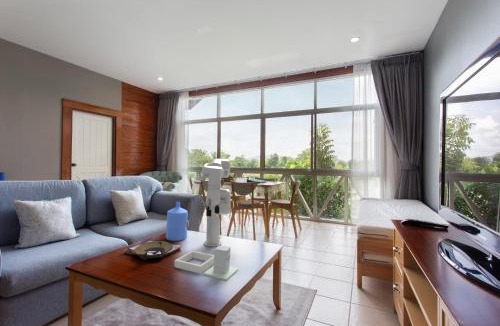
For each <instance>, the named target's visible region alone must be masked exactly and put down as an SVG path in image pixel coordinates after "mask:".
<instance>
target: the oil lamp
mask: <svg viewBox="0 0 500 326" xmlns="http://www.w3.org/2000/svg"><path fill="white" fill-rule="evenodd" d="M172 250H173V245H172V243H171V242H168V241H165V240H163V241H162V240H155V241H148V242H144V243H142V244H141V243H140V245H138V246H136V247H135V248H134V250H133V253H134V255H136V256H138V257H139V258H141V259H142V260H144V261H147V260H148V259H154V258H159V257H162V256H164V255H166V254H167V253H169V252H170V251H172ZM148 251H160V252H161V254H153V255H147V252H148Z"/></svg>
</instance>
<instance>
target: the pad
mask: <svg viewBox="0 0 500 326" xmlns="http://www.w3.org/2000/svg"><path fill="white" fill-rule="evenodd" d="M213 267H214V265H212V266H210V267H209V268H208V269H206V270H205V271H203V276H207V277H211V278H214V279H219V280H223V281H228V280H229V279H230V278H232V277H233V276H234V274H236V273H237V272H238V270H239V268H238V267H233V266H230V267H229V269H228V271H227V272H226V274H223V273H217V272H213Z"/></svg>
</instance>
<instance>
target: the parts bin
mask: <svg viewBox="0 0 500 326" xmlns="http://www.w3.org/2000/svg"><path fill="white" fill-rule="evenodd" d="M191 259H195V260H200V261H204V262H202V263H201V264H197V263H193V262H189V261H190V260H191ZM213 266H214V254H210V253H205V252H200V251H197V250H196V251H195V250H191V251H189V252H187V253H186V254H184V255H181V256H180V257H178V258H176V259H174V266H173V267H174V268H177V269H180V270H184V271H187V272H193V273H195V274H202V273H204V272H206V271H207V270H209V269H210V268H211V267H213Z"/></svg>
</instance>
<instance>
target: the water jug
mask: <svg viewBox="0 0 500 326" xmlns="http://www.w3.org/2000/svg"><path fill="white" fill-rule="evenodd" d="M166 213H167V214H166V226H165V227H166V233H165V239H166V240H168V241H171V242H178V241H179V242H180V241H183V240H186V239H187V238H188V235H187V234H188V228H187V221H188V217H189V212H188V210H187V209H185V208H182V207H181V201H176V202H175V207H172V208H171V209H169V210H167V212H166Z"/></svg>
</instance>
